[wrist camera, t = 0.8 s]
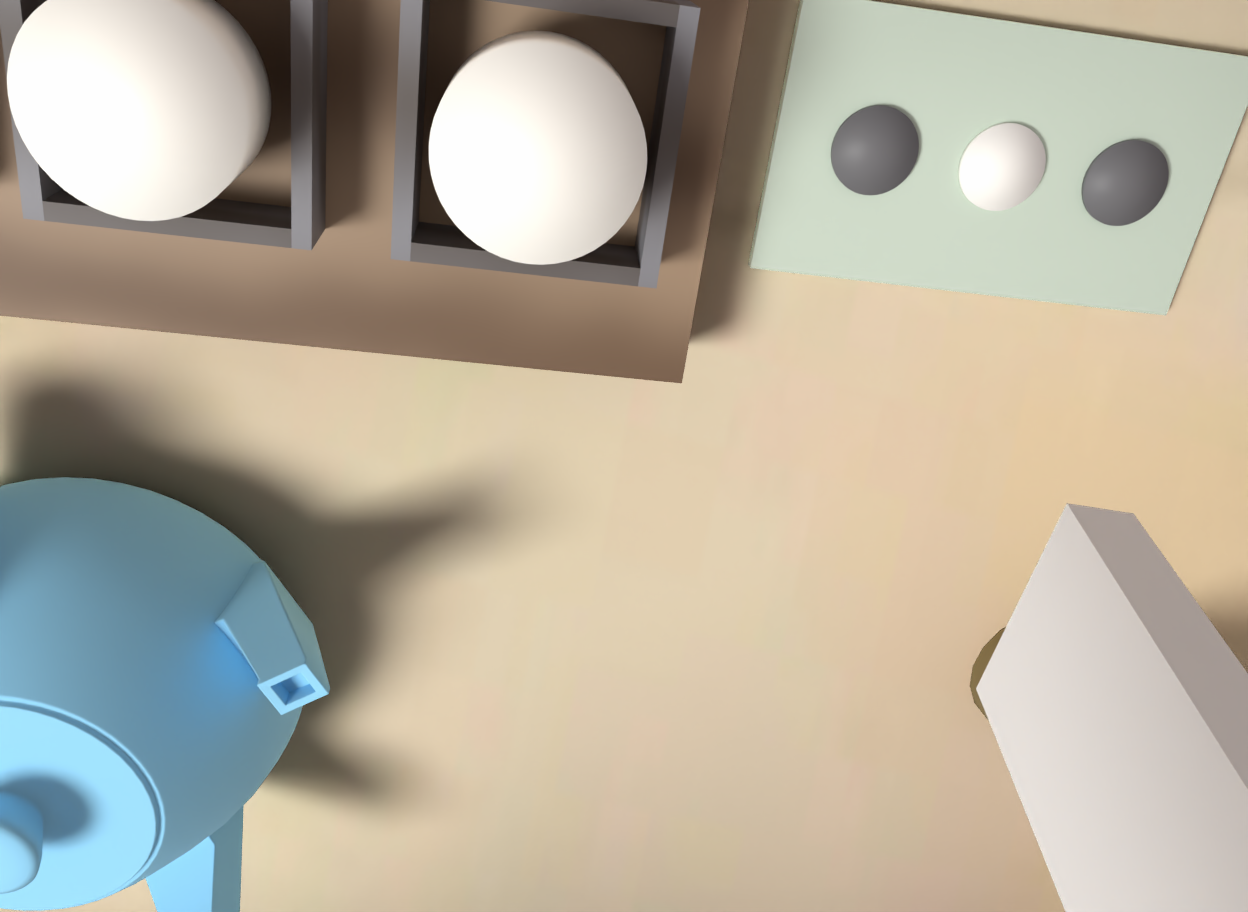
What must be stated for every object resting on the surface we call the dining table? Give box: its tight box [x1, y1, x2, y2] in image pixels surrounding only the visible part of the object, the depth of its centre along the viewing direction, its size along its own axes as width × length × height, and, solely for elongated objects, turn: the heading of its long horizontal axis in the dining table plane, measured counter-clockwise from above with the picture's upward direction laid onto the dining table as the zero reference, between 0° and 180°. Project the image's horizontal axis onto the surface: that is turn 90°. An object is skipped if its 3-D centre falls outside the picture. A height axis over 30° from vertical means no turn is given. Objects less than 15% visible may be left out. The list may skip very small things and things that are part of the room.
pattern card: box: [748, 0, 1248, 315], centre depth 32 cm, size 8×14×1 cm, turn 82°
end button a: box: [429, 30, 647, 265], centre depth 26 cm, size 5×5×2 cm
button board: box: [0, 0, 749, 383], centre depth 28 cm, size 14×28×5 cm, turn 82°
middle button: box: [7, 0, 271, 221], centre depth 25 cm, size 5×5×2 cm
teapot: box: [0, 477, 330, 912], centre depth 34 cm, size 15×15×11 cm
